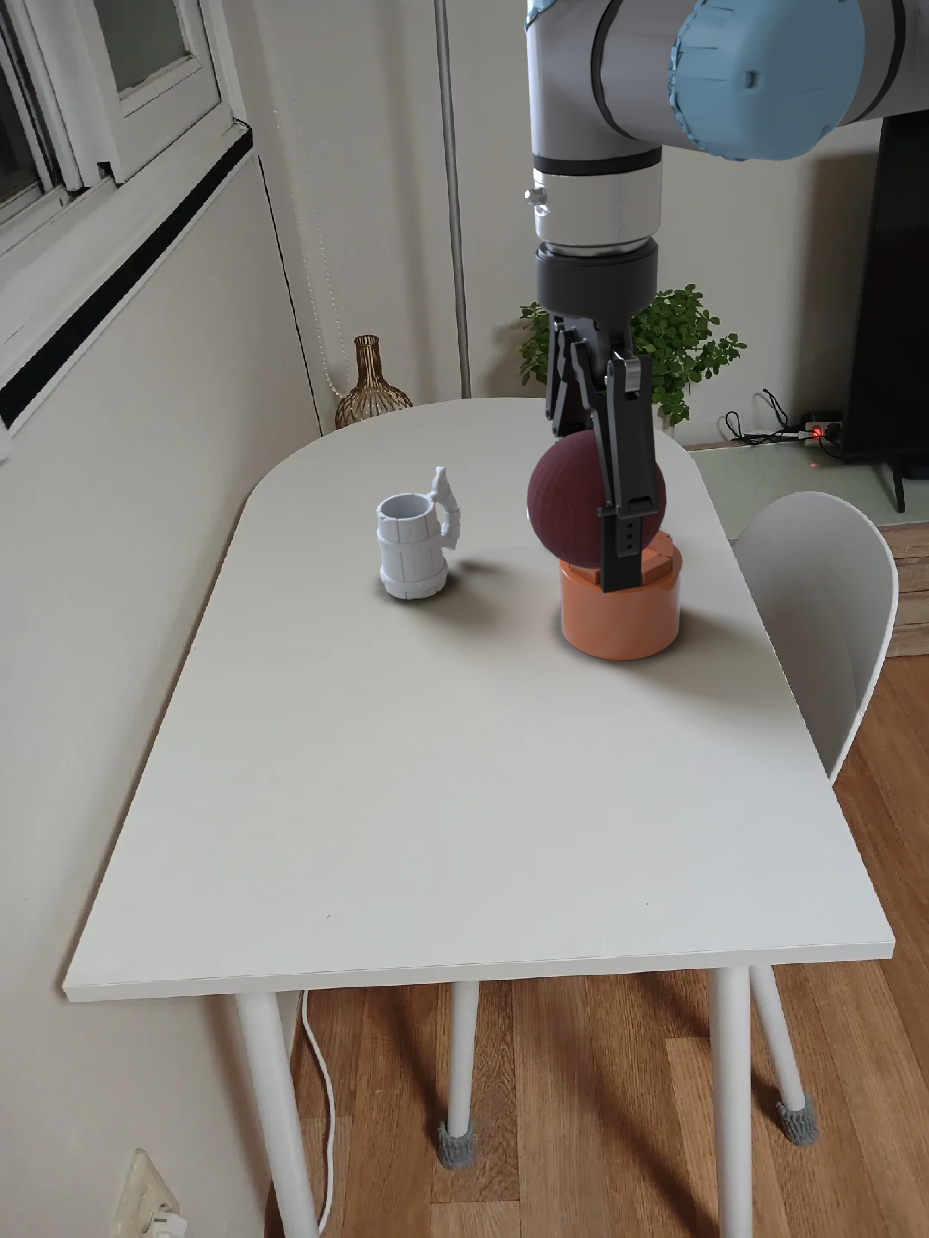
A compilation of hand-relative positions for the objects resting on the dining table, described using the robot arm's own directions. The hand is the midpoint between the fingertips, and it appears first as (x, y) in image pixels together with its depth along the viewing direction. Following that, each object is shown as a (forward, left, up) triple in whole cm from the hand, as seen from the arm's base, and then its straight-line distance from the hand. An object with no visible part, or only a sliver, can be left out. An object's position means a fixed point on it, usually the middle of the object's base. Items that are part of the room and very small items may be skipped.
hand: (596, 549), depth 71 cm
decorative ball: (0, 0, -1) cm, 1 cm away
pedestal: (+20, -2, -21) cm, 29 cm away
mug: (+29, +20, -21) cm, 41 cm away
